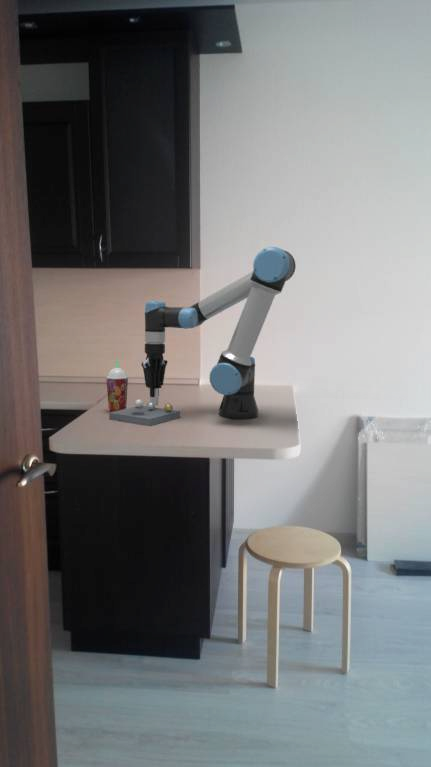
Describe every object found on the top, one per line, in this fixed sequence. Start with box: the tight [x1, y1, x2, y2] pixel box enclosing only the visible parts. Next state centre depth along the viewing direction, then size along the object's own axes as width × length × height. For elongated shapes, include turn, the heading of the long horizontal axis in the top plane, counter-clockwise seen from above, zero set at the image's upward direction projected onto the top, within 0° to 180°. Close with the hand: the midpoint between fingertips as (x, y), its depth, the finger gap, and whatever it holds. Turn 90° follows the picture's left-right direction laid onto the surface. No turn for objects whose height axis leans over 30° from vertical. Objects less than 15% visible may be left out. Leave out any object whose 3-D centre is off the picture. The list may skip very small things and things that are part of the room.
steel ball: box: [146, 401, 156, 410], centre depth 220 cm, size 3×3×3 cm
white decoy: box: [134, 399, 144, 408], centre depth 225 cm, size 3×3×3 cm
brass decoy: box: [163, 403, 174, 412], centre depth 218 cm, size 3×3×3 cm
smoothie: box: [105, 360, 129, 413], centre depth 229 cm, size 8×8×20 cm
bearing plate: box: [108, 405, 181, 427], centre depth 218 cm, size 19×18×2 cm
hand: (154, 405), depth 223 cm, fingers closed
